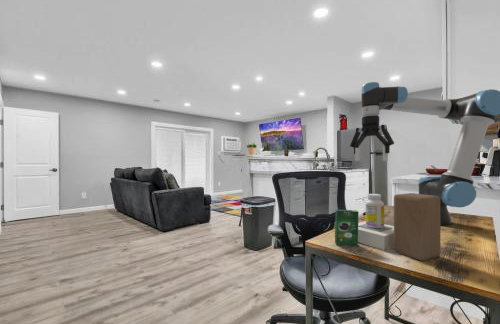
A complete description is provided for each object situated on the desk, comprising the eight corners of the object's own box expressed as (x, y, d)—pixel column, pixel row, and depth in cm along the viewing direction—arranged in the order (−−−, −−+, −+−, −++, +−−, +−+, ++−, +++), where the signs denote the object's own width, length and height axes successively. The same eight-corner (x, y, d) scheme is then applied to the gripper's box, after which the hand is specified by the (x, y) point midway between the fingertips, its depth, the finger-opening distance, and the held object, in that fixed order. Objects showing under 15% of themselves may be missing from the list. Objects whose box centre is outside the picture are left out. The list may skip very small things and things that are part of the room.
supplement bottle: (380, 224, 100) (379, 193, 100) (387, 229, 94) (387, 195, 94) (363, 224, 101) (362, 193, 101) (369, 228, 94) (369, 195, 94)
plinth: (367, 231, 108) (367, 219, 108) (406, 241, 95) (406, 228, 95) (344, 238, 100) (344, 225, 100) (384, 250, 86) (384, 235, 86)
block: (422, 262, 76) (422, 198, 76) (392, 251, 85) (392, 194, 85) (441, 257, 80) (441, 196, 80) (411, 247, 89) (411, 192, 89)
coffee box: (356, 243, 93) (356, 209, 93) (358, 246, 90) (358, 210, 90) (334, 242, 94) (334, 208, 94) (336, 245, 91) (336, 210, 91)
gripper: (342, 119, 124) (343, 161, 124) (393, 110, 103) (394, 160, 104) (351, 120, 128) (351, 161, 128) (402, 112, 108) (402, 160, 108)
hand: (370, 161), depth 116 cm, fingers open, 13 cm apart
